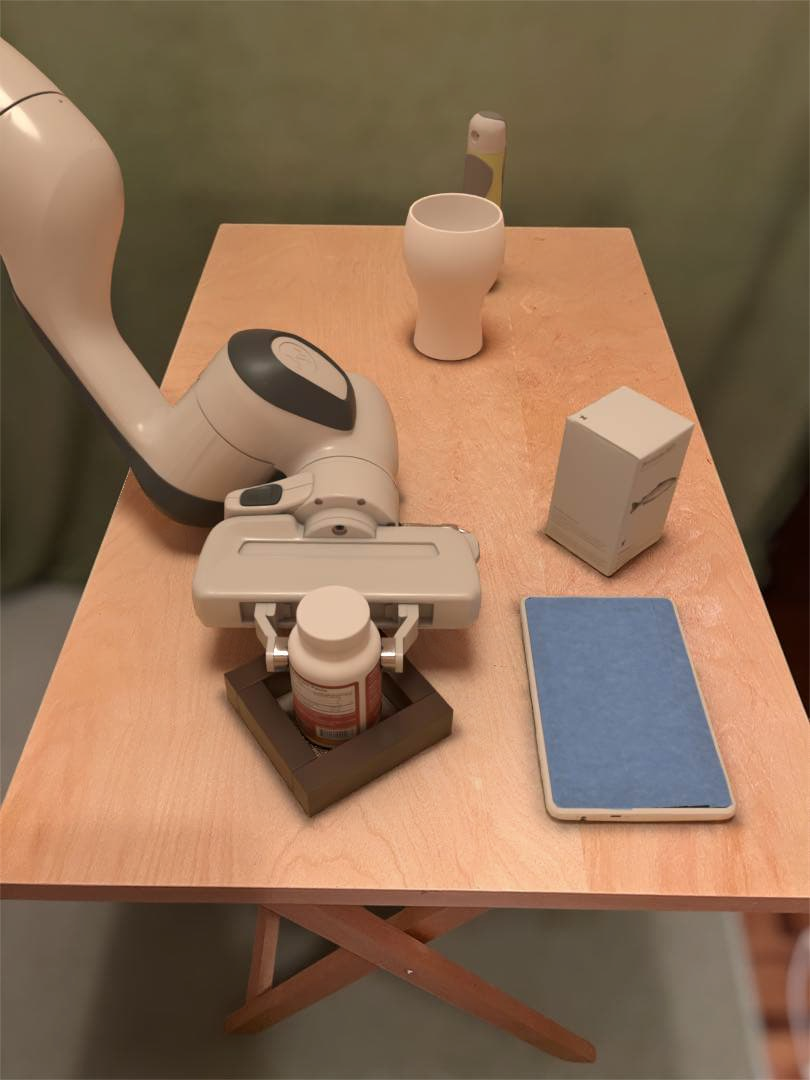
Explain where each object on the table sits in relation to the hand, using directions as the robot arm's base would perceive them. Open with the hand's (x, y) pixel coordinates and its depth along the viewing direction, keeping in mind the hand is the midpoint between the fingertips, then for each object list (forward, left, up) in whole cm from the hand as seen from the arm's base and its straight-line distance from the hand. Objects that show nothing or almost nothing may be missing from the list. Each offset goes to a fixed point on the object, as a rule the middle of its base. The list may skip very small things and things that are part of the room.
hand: (334, 666), depth 60 cm
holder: (+1, +1, -7) cm, 7 cm away
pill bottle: (+1, +1, -7) cm, 7 cm away
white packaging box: (+30, +4, -7) cm, 31 cm away
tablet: (+18, -10, -7) cm, 21 cm away
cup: (+38, +37, -7) cm, 53 cm away
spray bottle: (+49, +46, -7) cm, 67 cm away
